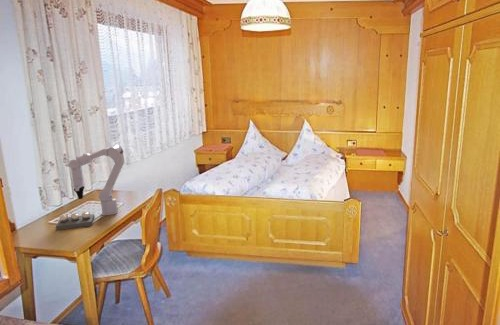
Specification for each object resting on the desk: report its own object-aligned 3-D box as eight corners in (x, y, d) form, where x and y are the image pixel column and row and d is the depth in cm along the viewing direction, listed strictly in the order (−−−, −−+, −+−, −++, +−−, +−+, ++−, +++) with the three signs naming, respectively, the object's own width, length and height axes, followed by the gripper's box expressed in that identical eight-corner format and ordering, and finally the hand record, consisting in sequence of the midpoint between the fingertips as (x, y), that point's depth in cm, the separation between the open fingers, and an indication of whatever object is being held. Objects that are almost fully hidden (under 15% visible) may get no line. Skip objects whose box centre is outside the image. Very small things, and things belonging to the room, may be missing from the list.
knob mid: (80, 221, 224) (79, 212, 223) (79, 224, 220) (78, 215, 219) (72, 222, 223) (71, 213, 222) (71, 225, 219) (70, 216, 218)
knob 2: (91, 220, 226) (90, 211, 224) (90, 223, 222) (89, 214, 220) (83, 221, 225) (82, 212, 223) (82, 224, 220) (81, 215, 219)
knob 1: (70, 223, 223) (68, 214, 221) (68, 225, 219) (67, 217, 217) (61, 224, 222) (60, 215, 220) (60, 227, 218) (58, 218, 216)
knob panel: (94, 217, 230) (94, 213, 229) (92, 225, 218) (91, 221, 218) (60, 222, 225) (60, 218, 224) (56, 230, 214) (55, 226, 213)
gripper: (72, 175, 236) (75, 195, 239) (68, 181, 222) (71, 203, 226) (84, 174, 238) (87, 194, 241) (81, 180, 224) (84, 201, 228)
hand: (80, 198), depth 234 cm, fingers closed
